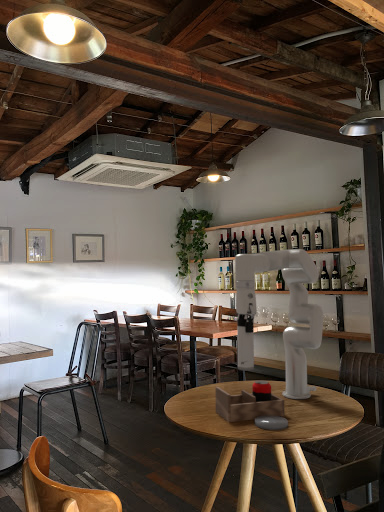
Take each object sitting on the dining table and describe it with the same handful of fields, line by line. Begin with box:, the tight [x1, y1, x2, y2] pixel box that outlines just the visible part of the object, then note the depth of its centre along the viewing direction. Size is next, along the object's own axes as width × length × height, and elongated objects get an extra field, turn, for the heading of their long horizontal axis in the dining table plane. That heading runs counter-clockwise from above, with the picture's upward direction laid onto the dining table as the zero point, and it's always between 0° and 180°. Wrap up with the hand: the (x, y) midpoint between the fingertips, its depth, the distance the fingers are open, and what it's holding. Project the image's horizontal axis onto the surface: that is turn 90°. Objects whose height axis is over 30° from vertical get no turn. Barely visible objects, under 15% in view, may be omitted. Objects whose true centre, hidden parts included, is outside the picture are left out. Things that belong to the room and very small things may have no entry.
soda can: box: [251, 380, 272, 402], centre depth 174 cm, size 8×8×12 cm
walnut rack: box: [215, 386, 286, 423], centre depth 172 cm, size 24×13×10 cm, turn 108°
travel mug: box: [236, 318, 255, 372], centre depth 168 cm, size 6×7×20 cm
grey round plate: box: [254, 415, 289, 431], centre depth 159 cm, size 12×12×2 cm
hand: (245, 330), depth 169 cm, fingers closed on travel mug, 6 cm apart
